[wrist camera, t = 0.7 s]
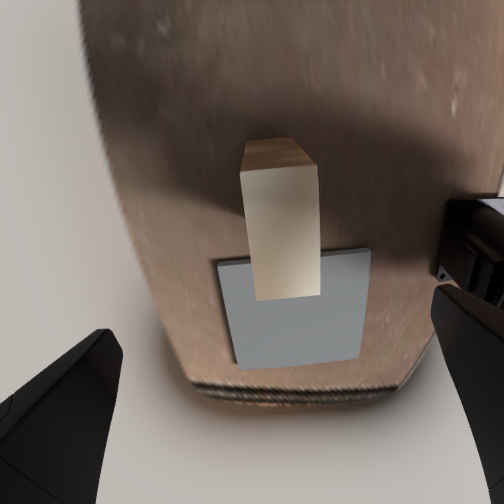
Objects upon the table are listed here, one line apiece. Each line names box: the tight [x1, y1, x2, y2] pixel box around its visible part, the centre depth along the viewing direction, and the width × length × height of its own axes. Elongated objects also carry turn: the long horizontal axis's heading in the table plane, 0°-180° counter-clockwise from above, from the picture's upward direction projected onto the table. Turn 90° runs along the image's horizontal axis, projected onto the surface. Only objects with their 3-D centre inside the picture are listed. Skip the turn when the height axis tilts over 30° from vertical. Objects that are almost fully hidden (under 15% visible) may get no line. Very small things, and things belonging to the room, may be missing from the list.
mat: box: [217, 248, 371, 370], centre depth 22 cm, size 10×10×1 cm
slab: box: [240, 137, 320, 301], centre depth 14 cm, size 2×5×8 cm, turn 6°
